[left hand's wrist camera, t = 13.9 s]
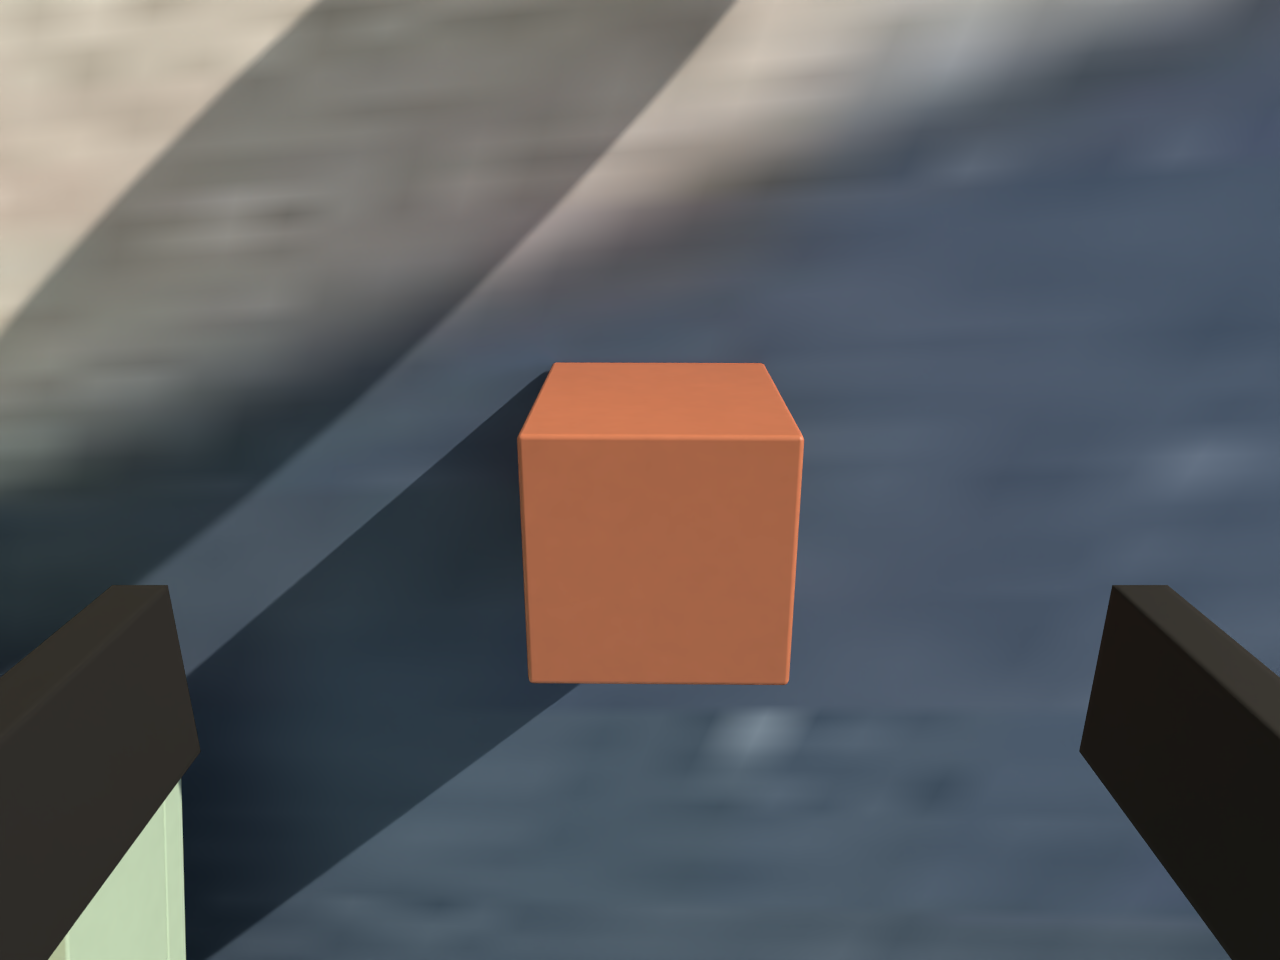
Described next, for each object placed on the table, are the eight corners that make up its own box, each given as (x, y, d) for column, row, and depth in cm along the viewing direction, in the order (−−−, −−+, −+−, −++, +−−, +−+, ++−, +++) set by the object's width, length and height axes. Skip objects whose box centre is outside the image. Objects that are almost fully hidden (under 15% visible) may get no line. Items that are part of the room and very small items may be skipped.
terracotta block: (764, 362, 21) (805, 436, 16) (755, 556, 23) (789, 687, 17) (552, 362, 21) (515, 434, 16) (558, 555, 23) (527, 685, 17)
